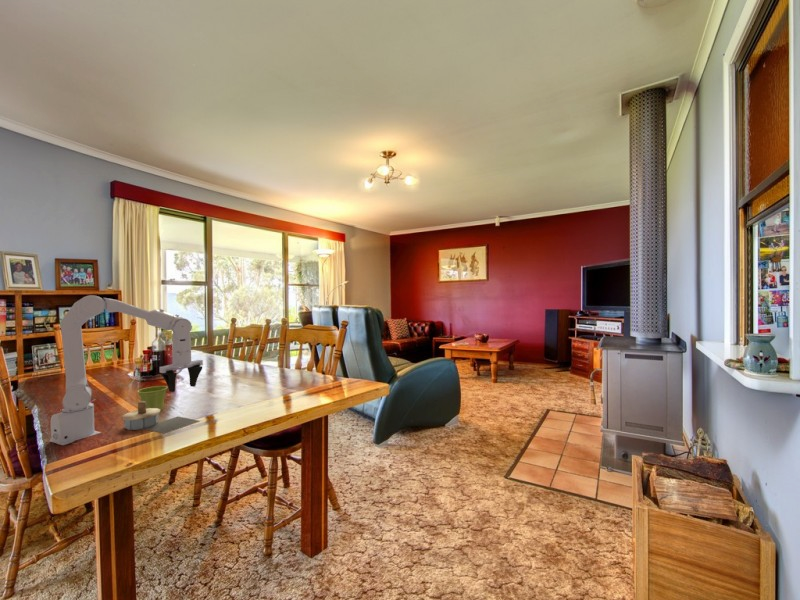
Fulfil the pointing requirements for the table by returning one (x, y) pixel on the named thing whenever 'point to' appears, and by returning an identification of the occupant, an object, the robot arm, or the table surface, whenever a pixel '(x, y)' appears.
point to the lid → (141, 412)
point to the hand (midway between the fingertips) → (182, 388)
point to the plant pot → (153, 396)
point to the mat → (171, 425)
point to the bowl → (141, 423)
